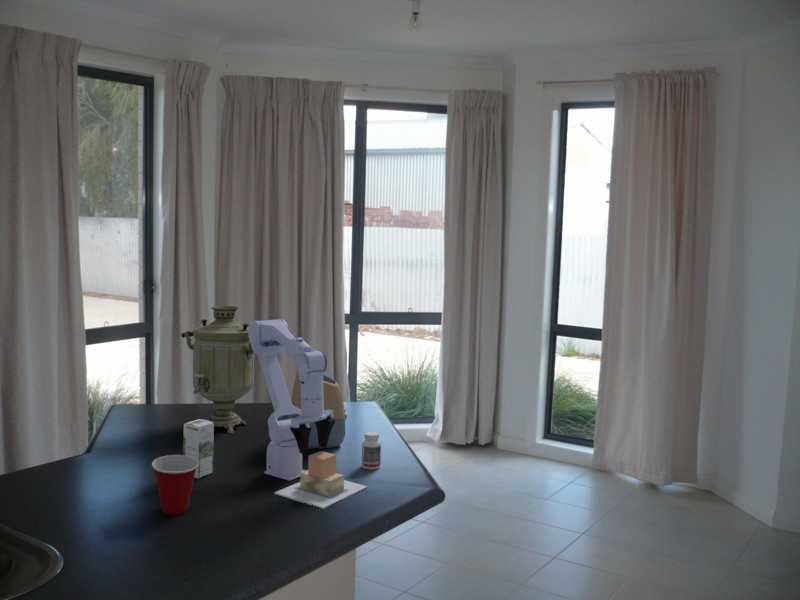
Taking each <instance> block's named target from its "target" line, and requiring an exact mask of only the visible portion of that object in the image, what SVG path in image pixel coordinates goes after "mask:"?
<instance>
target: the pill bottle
mask: <svg viewBox="0 0 800 600" xmlns="http://www.w3.org/2000/svg"><path fill="white" fill-rule="evenodd" d="M379 438H380V433H379V432H376V431H367V432H364V440H362V443H361V467H362V468H363V469H364V468H365V469H364V470H369V471H370V470H377V469H380V468H381V459H382V458H381V457H382V455H381V454H382V453H381V452H382V442H381V441H380V440H379Z"/></svg>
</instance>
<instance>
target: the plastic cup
mask: <svg viewBox="0 0 800 600" xmlns="http://www.w3.org/2000/svg"><path fill="white" fill-rule="evenodd" d="M198 465H199V461H198V460H197V459H195V458H194V457H190V456H186V455H183V454H169V455H168V454H167V455H164V456H160V457H158V458H155V459H153V461H152V462H151V466H152V469H153V471H154V474H155V475H154V476H155V479H156V484H157V485H156V486H157V489H158V490H157V491H158V496H159V500H160V504H161V509H162V512H163V513H164V514H165V515H173V516H174V515H180V514H183V513H185V512H187V511H188V510H189V506H190V499H191V495H192V491H193V485H194V479H195V478H194V475H195V471H196V468H197V467H198Z"/></svg>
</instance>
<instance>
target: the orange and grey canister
mask: <svg viewBox="0 0 800 600" xmlns="http://www.w3.org/2000/svg"><path fill="white" fill-rule="evenodd" d="M323 395H324V410H333V414H334V417H333V418H331V419H334V420H335V424H334V426H333V427H332V430H331V432H330V435H329V439H328V444H327V447H326V448H324V447H319V443H318V433H317V428H316V424H315V422H313V423H309V428H312V429H311V432H310V436H309V443H308V450H313V449H312V448H318V449H331V448H332V449H333V448H336V447H338V446H340V445H342V444H343V442H344V440H345V437H346V416H345V405H344V395H343V392H342V390H341V387H340V385H339V384H338V381H336V380H335V379H334V377H333V376H332V375H331V374H330V373H328V372H327V371H325V372H323ZM291 402H292V405H293V406H295V407H297V408H299V409H300V410H301V381H300V380H299V375H298V372H297V373H296V377H295V379H294V383H293V387H292V396H291Z"/></svg>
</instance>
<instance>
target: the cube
mask: <svg viewBox="0 0 800 600" xmlns="http://www.w3.org/2000/svg"><path fill="white" fill-rule="evenodd" d="M307 461H308V464H307V465H308V466H307V470H308V475H311V476H315V477H318V478H322V479H324V478H326V477H329V476H331V475H334V474H336V472H337V454H335V453H330V452H327V451H322V450H320V451H317V452H315V453H312V454H309V455H308V460H307Z"/></svg>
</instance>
